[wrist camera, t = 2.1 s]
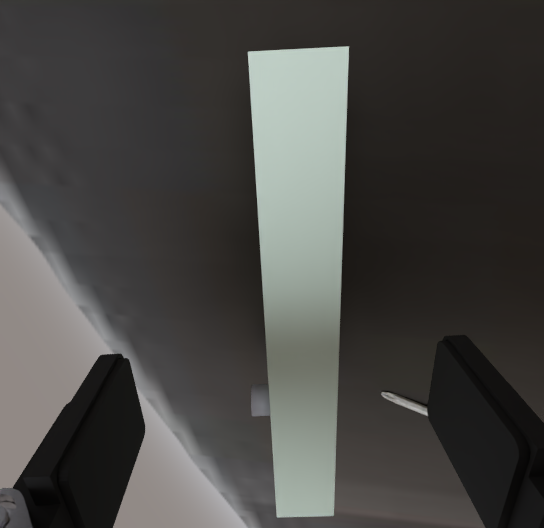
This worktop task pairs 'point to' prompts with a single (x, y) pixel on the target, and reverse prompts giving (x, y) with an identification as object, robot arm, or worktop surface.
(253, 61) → the door
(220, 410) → the worktop surface
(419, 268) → the worktop surface
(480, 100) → the worktop surface
